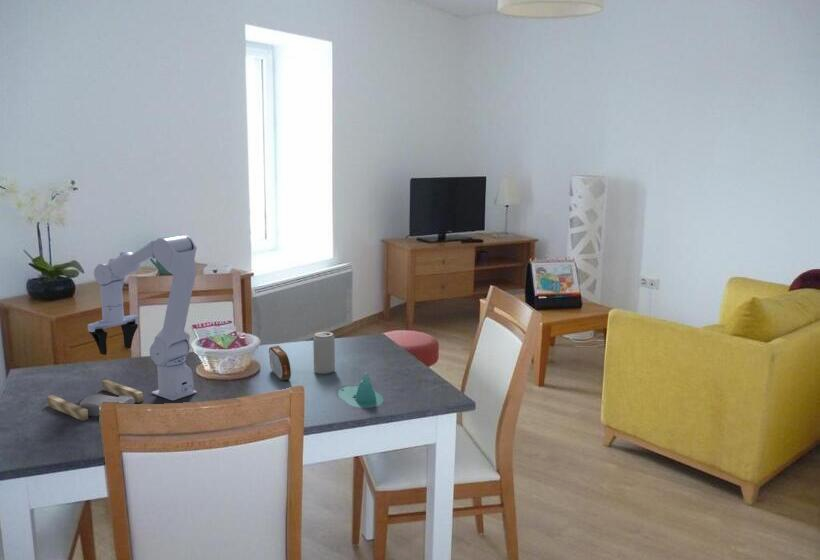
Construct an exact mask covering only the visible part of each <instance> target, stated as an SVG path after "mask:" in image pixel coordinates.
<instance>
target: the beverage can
mask: <svg viewBox="0 0 820 560" xmlns="http://www.w3.org/2000/svg"><path fill="white" fill-rule="evenodd" d="M335 339H336V337H335V336H334V333H333V332H331V331H320V332H315V333H314V336H313V339H312V341H313V344H312V345H313V371H314V372H315V373H316V374H317V375H318V374H319V375H329V374H332V373H334V371H335V370H336V357H335V356H336V355H335V354H336V351H335V350H336V348H335V345H336V344H335V343H336V342H335V341H336V340H335Z"/></svg>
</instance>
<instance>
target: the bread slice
mask: <svg viewBox="0 0 820 560" xmlns="http://www.w3.org/2000/svg"><path fill="white" fill-rule="evenodd" d="M268 354H269V355H268V357H269V365H270V369H271V372H272V373H273V374H274V375H275V376H276V378H277V379H278V380H279V381H287V380H291V375H292V371H291V364H290V359H289V356H288V354H287V352H286V351H285V350H284V349H283V348H282V347H280V345H274V346H271V347H269V348H268Z"/></svg>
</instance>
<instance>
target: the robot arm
mask: <svg viewBox="0 0 820 560" xmlns="http://www.w3.org/2000/svg"><path fill="white" fill-rule="evenodd" d="M197 247H198V246H196V244H195V242H194V241H193V240H192V238H191V237H190V236H189V235H187V234H179V235H176V236H169V237H160V238H159V237H158V238H157V239H155V240H151V241H150V242H148V243H147V244H146V245H144V246H143V247H141V248H139V249H138V250H136V251H135V252H132V251H121V252H120V253H119V256H117V257H115V258H114V257H113V258H110V259H108V262H107V263H98V264H97V265H96V266H95V268H94V270H93V276H94V279H95V281H96V282H97V284H99V290H100V303H101V305H100V306H101V315H102V316H101V317H102V319H101V320H97V321H95V322H92V323H91V322H90V323H88V324H87V332H89V334H90V335H91V337H92V339H93V340H94V341H95V343H96V345H97V348H98V350H99V354H100V355H102V356H105V355H107V354H108V353H107V352H108V350H107V337H108V332H106V331H105V330H106V329H109V328H113V327H114V328H115V327H118V326H120V327H121V330H122V335H123V345H124V348H126V349H129V350H130V349H132V344H133V340H134V336H135V333H136V331H137V329H138V328H139V324H138V322H139V321H140V320H139V315H138V314H130V315H125V310H124V295H123V288H124V285H125V284H124V283H125V279H126V277H128V276H130V275H131V274H133V273H135V272H137V271H139V270H140V268H141V264H143V263H145V262H147V261H149V260H151V259H156V260H157V262H158V263H159V264H160V265H161V266H162V267H163V268H164V269H165V270H166V271H167V272H168V273H170V274H171V275H172V278H171V279H172V280H171V285H170V290H169V295H168V301H167V305H166V309H165V315H164V321H163V325H162V326H163V327H162V328H161V330H160V331H159V332H158V333H157V334H156V336H155V337H154V340H153V342H152V344H151V345H150V347H149V355H150V356H149V357H150V358H151V360H152V362H153V363H154V365H156V366H157V370H156V371H157V381H158V383H157V384H158V386H157V387H158V389H156V390H153V391H151V394H152V395H155V396H159V397H161V398H164V399H166V400H169V401H176V400H179V399H181V398H186V397H188V396H191V395H194V394H196V393H197V390H195V388H194V385H195V384H194V374H193V373H194V372H193V370H192V369H191V367H189V366H188V365H187V363H186V360H187V356H188V355H189V353H190V352H191V344H190V337H191V336H190V334H189V332H187V330H185V329H186V323H187V319H188V318H187V317H188V313H189V310H190V309H189V308H190V304H191V299H192V294H193V288H194V284H195V278H196V274H197V270H196V263H195V262H196V260H195V258H196V254H197V250H198V248H197Z"/></svg>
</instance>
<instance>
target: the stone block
mask: <svg viewBox="0 0 820 560" xmlns="http://www.w3.org/2000/svg"><path fill="white" fill-rule="evenodd" d="M103 402H119V403H135V404H136V402H135V401H134V398H133V397H132V396H119V395H118V396H112V395H106V394H100V393H94V394H89V395H88V396H87V397H85V398H83V399H82V400H81V401H80V402H79V405H78V406H80V407H83V408H85V409H87V410H88V417H100V415H99V405H100V404H101V403H103Z"/></svg>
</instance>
